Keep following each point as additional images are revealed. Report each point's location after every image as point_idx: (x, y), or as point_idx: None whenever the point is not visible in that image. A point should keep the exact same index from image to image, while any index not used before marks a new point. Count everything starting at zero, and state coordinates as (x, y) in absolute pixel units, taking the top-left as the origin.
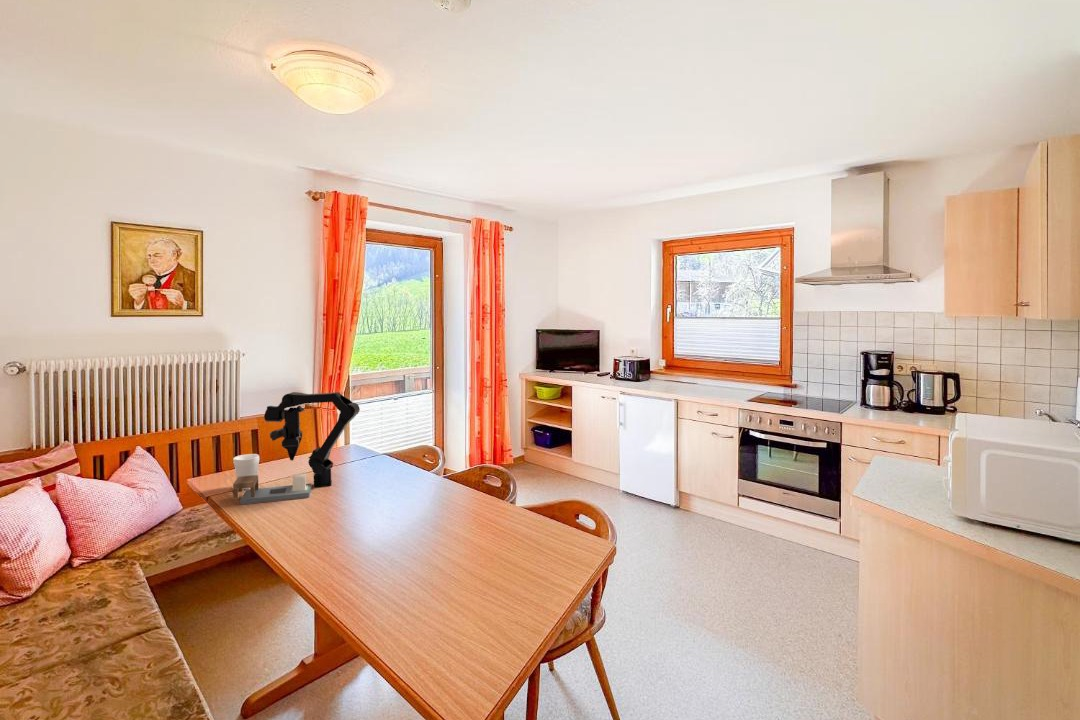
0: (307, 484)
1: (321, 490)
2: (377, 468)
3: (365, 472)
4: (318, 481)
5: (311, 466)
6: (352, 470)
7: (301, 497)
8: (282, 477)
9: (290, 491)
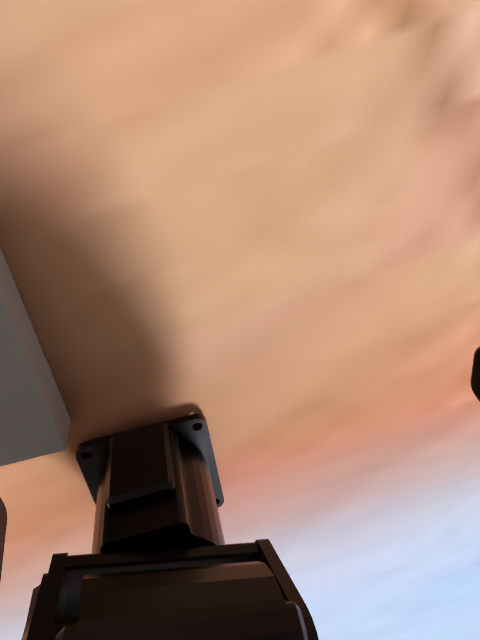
0: (26, 432)
1: None
2: (420, 617)
3: (366, 595)
4: (101, 491)
5: (37, 621)
6: (434, 525)
7: None
8: (460, 39)
9: None
